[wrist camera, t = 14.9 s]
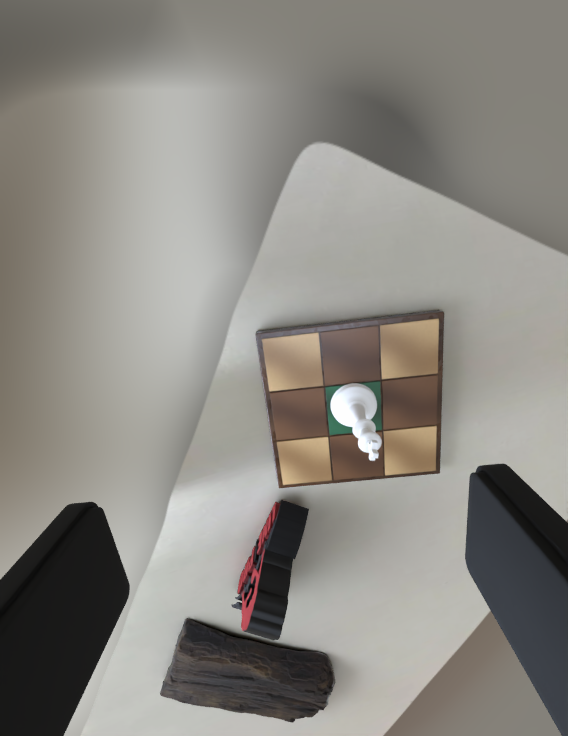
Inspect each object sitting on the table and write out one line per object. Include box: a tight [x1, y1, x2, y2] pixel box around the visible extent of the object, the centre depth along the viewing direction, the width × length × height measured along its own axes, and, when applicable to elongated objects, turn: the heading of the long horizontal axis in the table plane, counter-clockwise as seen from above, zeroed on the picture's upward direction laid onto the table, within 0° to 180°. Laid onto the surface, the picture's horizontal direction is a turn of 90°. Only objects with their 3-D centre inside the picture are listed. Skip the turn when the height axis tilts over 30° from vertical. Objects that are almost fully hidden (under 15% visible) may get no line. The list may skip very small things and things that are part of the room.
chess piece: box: [331, 383, 382, 461], centre depth 32 cm, size 5×5×10 cm
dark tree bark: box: [160, 618, 335, 722], centre depth 51 cm, size 25×4×15 cm
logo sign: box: [232, 500, 309, 640], centre depth 40 cm, size 18×4×11 cm, turn 158°
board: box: [256, 310, 444, 488], centre depth 38 cm, size 19×19×1 cm
